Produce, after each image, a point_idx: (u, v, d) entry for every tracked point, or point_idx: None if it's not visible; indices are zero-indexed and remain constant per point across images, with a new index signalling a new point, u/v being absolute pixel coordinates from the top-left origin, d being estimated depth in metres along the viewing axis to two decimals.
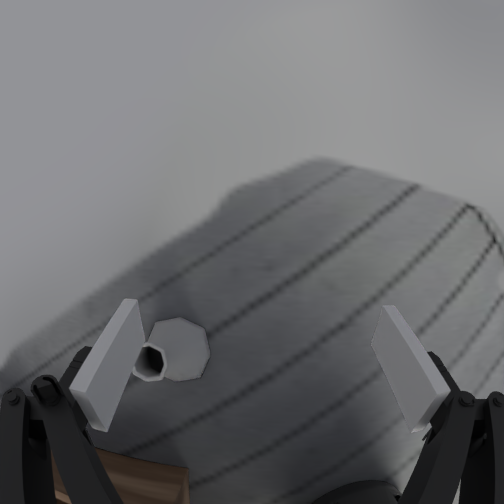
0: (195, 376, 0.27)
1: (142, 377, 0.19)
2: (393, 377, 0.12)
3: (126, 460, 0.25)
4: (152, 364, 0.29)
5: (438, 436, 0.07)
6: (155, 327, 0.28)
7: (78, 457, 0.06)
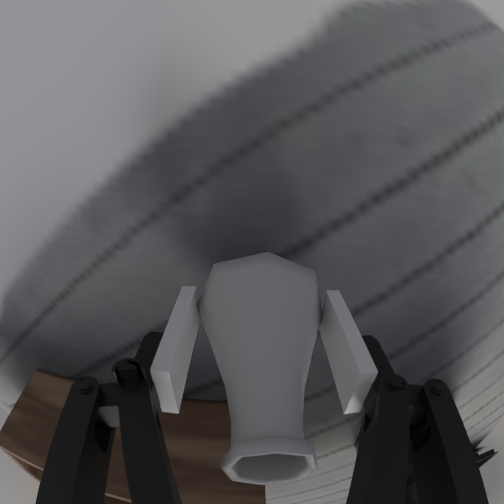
0: None
1: (254, 482, 0.08)
2: (332, 359, 0.13)
3: (184, 407, 0.25)
4: None
5: (372, 425, 0.08)
6: (223, 292, 0.14)
7: (149, 444, 0.07)
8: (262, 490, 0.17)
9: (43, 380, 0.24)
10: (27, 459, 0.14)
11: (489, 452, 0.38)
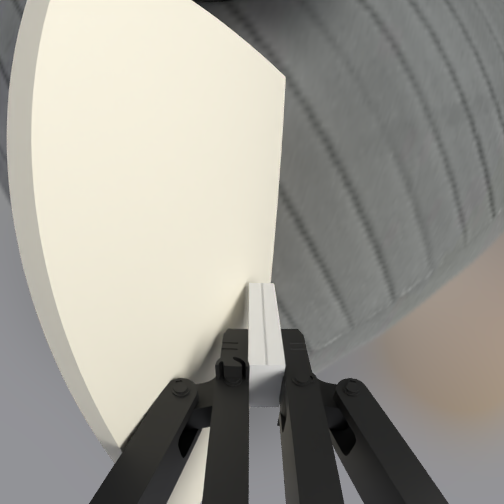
0: None
1: None
2: None
3: None
4: None
5: (287, 426, 0.09)
6: None
7: (238, 444, 0.07)
8: None
9: None
10: None
11: None
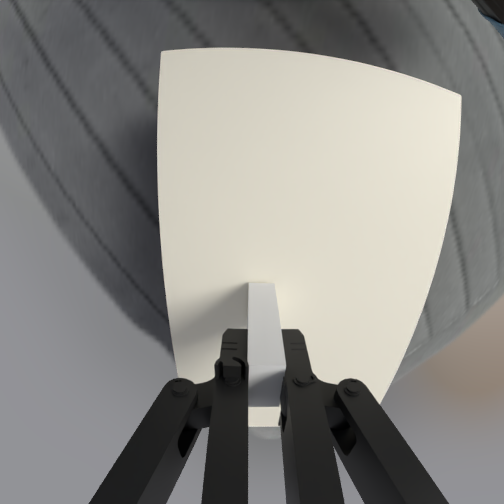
0: None
1: None
2: None
3: None
4: None
5: (288, 425, 0.09)
6: None
7: (237, 443, 0.07)
8: None
9: None
10: None
11: None
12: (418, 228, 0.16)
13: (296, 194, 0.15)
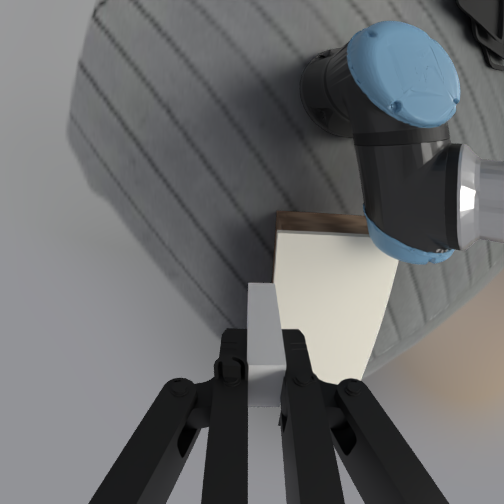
0: None
1: None
2: None
3: (274, 254, 0.50)
4: None
5: (288, 425, 0.09)
6: None
7: (237, 444, 0.07)
8: None
9: None
10: None
11: None
12: (375, 296, 0.39)
13: (326, 288, 0.39)
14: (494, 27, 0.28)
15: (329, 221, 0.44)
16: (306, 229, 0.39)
